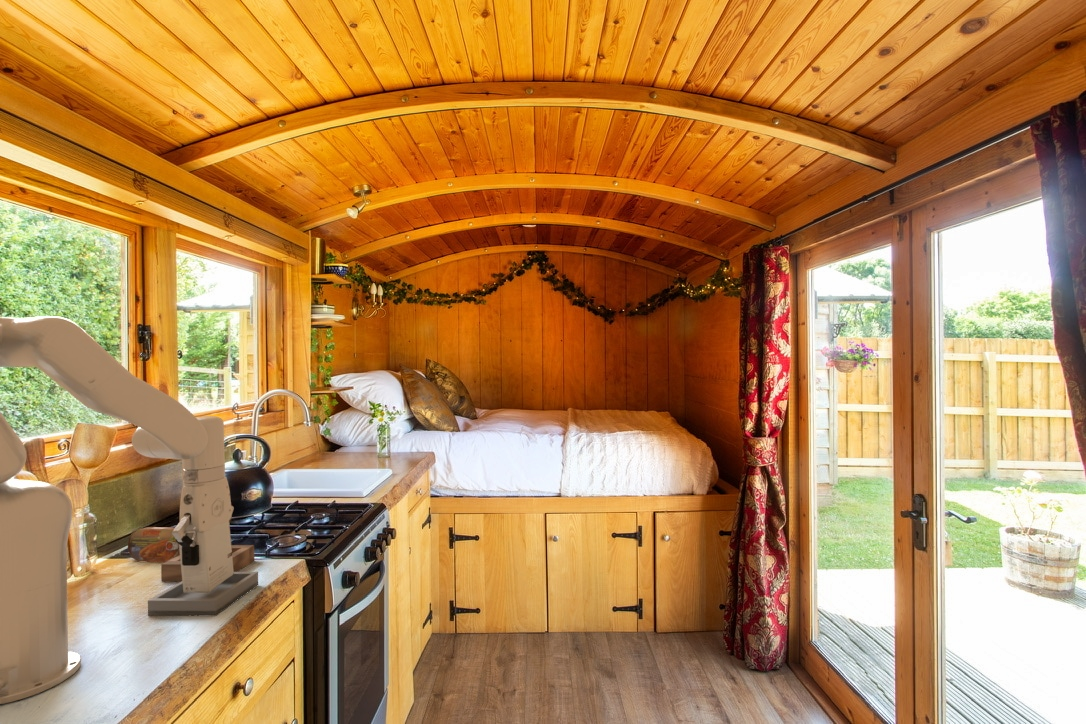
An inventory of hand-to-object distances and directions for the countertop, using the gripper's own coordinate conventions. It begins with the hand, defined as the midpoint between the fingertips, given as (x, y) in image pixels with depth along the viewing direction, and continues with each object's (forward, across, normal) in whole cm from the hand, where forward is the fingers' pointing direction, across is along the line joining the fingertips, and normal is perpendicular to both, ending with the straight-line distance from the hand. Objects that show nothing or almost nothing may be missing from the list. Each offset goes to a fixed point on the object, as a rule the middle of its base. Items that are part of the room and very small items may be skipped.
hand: (206, 556), depth 109 cm
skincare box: (+6, +1, 0) cm, 6 cm away
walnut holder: (+9, +15, +10) cm, 20 cm away
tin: (+10, +22, +29) cm, 38 cm away
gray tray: (+9, 0, 0) cm, 9 cm away
